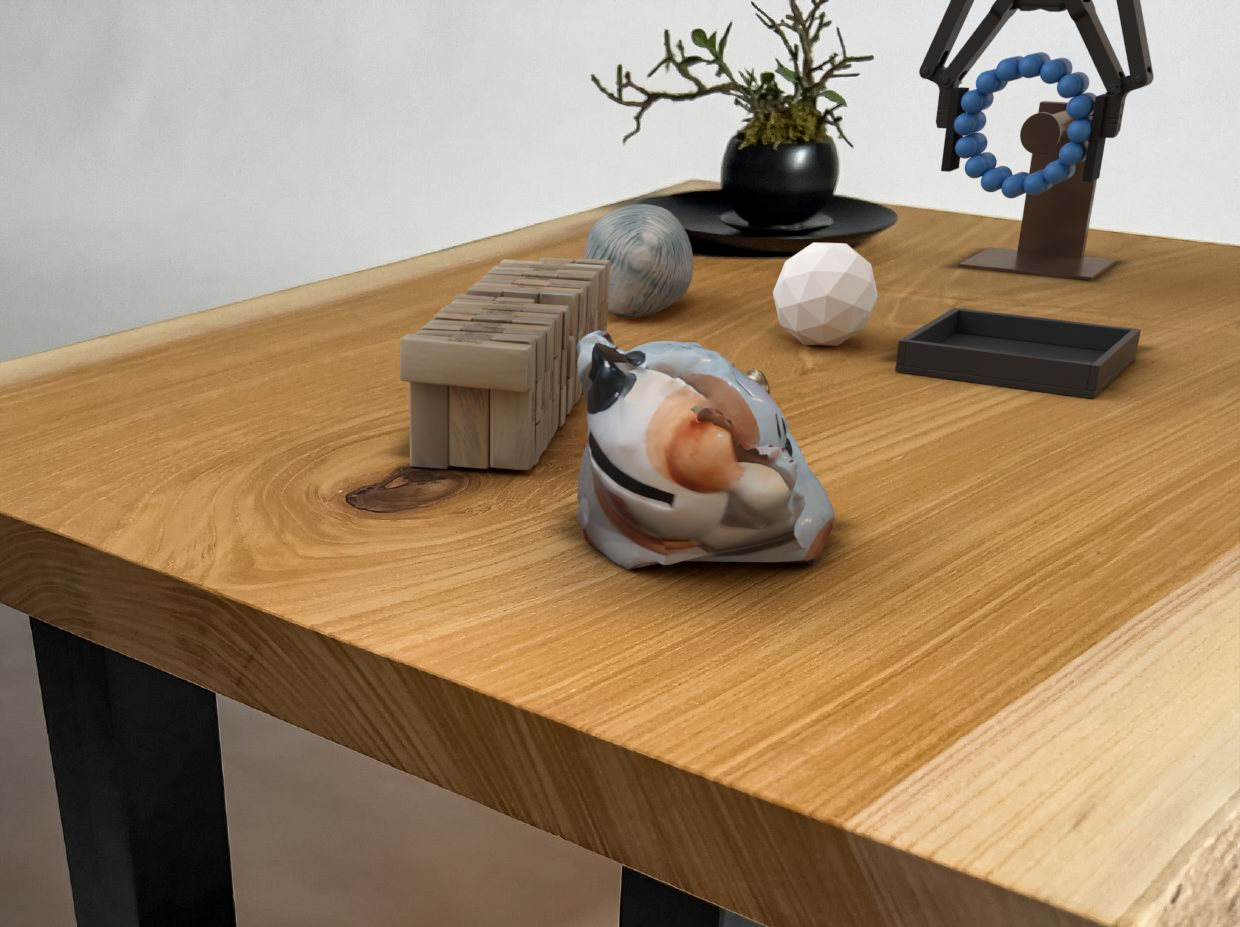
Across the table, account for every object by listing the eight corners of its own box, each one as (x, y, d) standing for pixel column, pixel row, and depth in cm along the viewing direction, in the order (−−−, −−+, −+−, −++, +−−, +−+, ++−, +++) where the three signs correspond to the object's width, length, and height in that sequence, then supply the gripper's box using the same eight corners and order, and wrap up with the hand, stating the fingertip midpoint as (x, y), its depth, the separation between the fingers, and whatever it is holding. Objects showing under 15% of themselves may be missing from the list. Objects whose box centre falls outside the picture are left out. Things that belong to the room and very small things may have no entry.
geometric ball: (844, 379, 126) (911, 306, 120) (763, 351, 122) (827, 273, 117) (822, 313, 130) (885, 239, 124) (743, 283, 126) (804, 206, 121)
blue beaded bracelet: (1089, 197, 136) (1113, 53, 131) (1075, 205, 132) (1099, 57, 127) (959, 187, 141) (977, 49, 136) (942, 194, 137) (960, 52, 132)
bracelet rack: (1114, 272, 151) (1144, 105, 144) (1084, 294, 142) (1115, 116, 135) (987, 259, 156) (1010, 98, 149) (951, 279, 147) (973, 108, 141)
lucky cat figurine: (885, 550, 83) (904, 345, 72) (715, 681, 80) (707, 487, 69) (688, 412, 91) (677, 206, 80) (526, 526, 88) (491, 329, 76)
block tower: (505, 371, 121) (396, 473, 95) (507, 255, 117) (393, 328, 91) (609, 377, 119) (525, 482, 93) (613, 259, 115) (528, 335, 90)
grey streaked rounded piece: (584, 248, 143) (634, 151, 136) (676, 301, 143) (731, 207, 136) (542, 316, 133) (594, 216, 126) (642, 373, 134) (698, 276, 127)
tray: (1135, 359, 120) (1141, 329, 119) (1093, 399, 111) (1099, 365, 109) (949, 336, 127) (953, 307, 126) (894, 371, 117) (898, 340, 116)
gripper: (899, -118, 128) (870, 169, 138) (1211, -123, 117) (1154, 190, 127) (929, -116, 134) (898, 160, 144) (1229, -121, 123) (1173, 179, 133)
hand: (1018, 174), depth 136 cm, fingers closed on blue beaded bracelet, 11 cm apart
